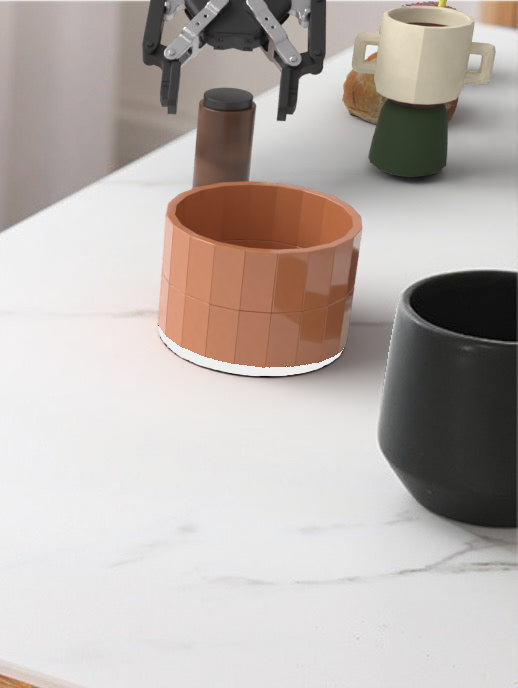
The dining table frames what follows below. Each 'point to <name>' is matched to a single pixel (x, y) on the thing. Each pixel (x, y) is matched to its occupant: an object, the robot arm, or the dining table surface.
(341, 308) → the pot
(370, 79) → the bread roll
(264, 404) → the dining table surface
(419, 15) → the character mug
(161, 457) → the dining table surface
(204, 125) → the spice shaker
